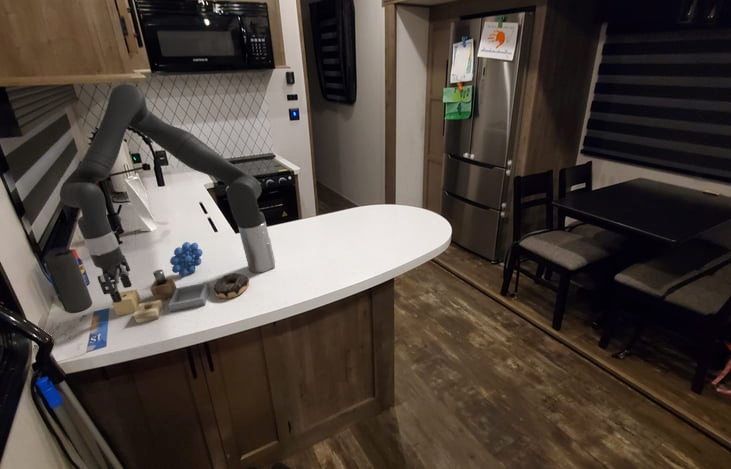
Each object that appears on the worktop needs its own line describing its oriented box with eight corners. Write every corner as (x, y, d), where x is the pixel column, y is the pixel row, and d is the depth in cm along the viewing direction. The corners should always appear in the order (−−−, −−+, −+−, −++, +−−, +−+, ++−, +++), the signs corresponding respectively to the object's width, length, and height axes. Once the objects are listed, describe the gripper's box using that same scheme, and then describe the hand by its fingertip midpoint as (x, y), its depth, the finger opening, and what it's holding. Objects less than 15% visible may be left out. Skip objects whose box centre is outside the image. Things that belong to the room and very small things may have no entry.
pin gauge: (172, 292, 125) (163, 268, 121) (170, 296, 122) (161, 273, 119) (163, 293, 124) (154, 270, 121) (161, 298, 122) (152, 274, 118)
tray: (209, 288, 125) (207, 282, 124) (205, 305, 116) (202, 298, 115) (178, 294, 123) (176, 288, 122) (171, 312, 114) (168, 305, 113)
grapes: (201, 263, 142) (193, 234, 137) (209, 268, 138) (200, 239, 133) (171, 276, 135) (160, 246, 130) (178, 282, 131) (167, 252, 126)
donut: (253, 279, 128) (251, 269, 127) (244, 299, 117) (241, 288, 116) (221, 282, 128) (218, 272, 127) (209, 302, 118) (206, 291, 116)
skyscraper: (162, 225, 184) (143, 170, 172) (153, 232, 177) (132, 175, 165) (147, 226, 185) (127, 171, 173) (138, 232, 178) (116, 176, 166)
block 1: (141, 302, 121) (136, 289, 119) (136, 311, 116) (130, 298, 114) (123, 305, 120) (117, 292, 118) (117, 315, 115) (111, 302, 113)
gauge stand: (163, 307, 117) (160, 299, 115) (158, 318, 111) (155, 310, 110) (143, 311, 116) (139, 303, 114) (136, 323, 110) (133, 314, 109)
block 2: (177, 289, 126) (172, 276, 124) (173, 298, 121) (168, 285, 119) (159, 292, 125) (155, 280, 123) (155, 301, 120) (150, 288, 118)
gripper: (100, 240, 115) (119, 284, 122) (78, 261, 102) (100, 309, 109) (126, 236, 116) (143, 280, 123) (107, 256, 104) (128, 304, 110)
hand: (123, 294), depth 116 cm, fingers open, 8 cm apart
